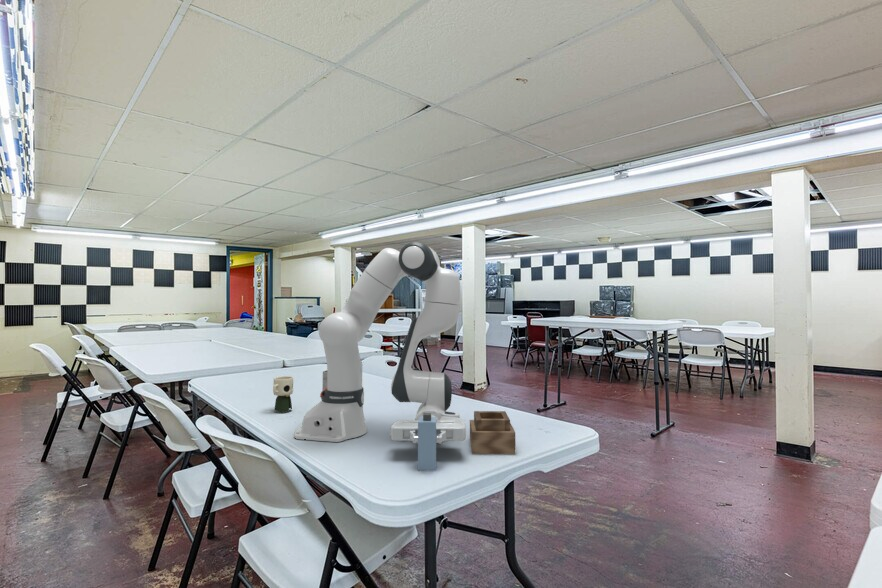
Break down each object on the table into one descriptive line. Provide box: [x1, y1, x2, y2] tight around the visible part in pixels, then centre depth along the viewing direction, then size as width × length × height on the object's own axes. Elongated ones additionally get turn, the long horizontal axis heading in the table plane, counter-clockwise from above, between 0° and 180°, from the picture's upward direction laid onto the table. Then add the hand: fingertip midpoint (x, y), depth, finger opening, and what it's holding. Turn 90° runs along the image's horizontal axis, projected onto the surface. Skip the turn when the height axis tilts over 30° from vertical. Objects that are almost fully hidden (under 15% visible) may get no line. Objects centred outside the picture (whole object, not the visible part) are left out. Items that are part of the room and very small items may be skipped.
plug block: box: [417, 413, 437, 472], centre depth 105 cm, size 4×4×14 cm
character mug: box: [272, 375, 294, 413], centre depth 158 cm, size 11×7×13 cm, turn 162°
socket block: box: [469, 410, 516, 455], centre depth 120 cm, size 12×12×9 cm
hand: (427, 440), depth 104 cm, fingers closed on plug block, 4 cm apart
